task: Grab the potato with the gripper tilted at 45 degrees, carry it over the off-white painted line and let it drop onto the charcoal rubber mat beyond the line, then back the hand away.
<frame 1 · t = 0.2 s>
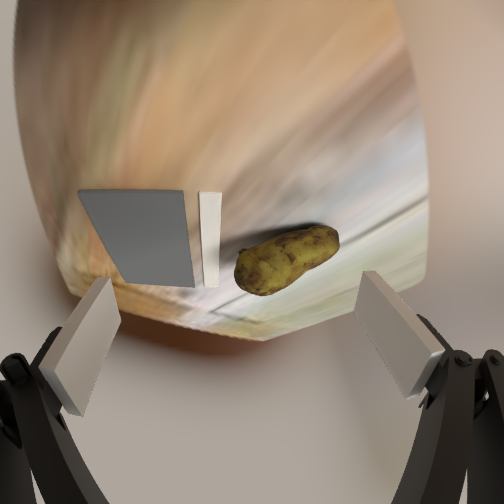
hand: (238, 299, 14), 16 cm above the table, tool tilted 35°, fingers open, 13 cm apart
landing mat: (146, 247, 39), on the table
throw line: (210, 250, 40), on the table
potato: (284, 232, 37), on the table
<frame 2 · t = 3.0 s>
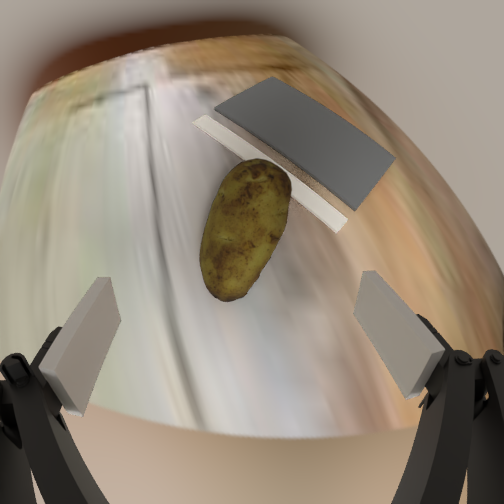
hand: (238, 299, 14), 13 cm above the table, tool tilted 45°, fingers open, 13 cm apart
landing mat: (307, 130, 36), on the table
throw line: (263, 164, 33), on the table
potato: (239, 243, 30), on the table
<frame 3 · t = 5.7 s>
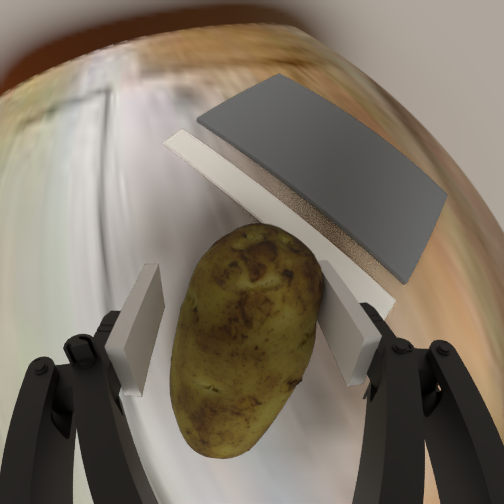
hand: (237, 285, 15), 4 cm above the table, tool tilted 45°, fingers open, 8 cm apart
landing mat: (334, 153, 25), on the table
throw line: (271, 213, 22), on the table
potato: (233, 351, 18), on the table, touching gripper
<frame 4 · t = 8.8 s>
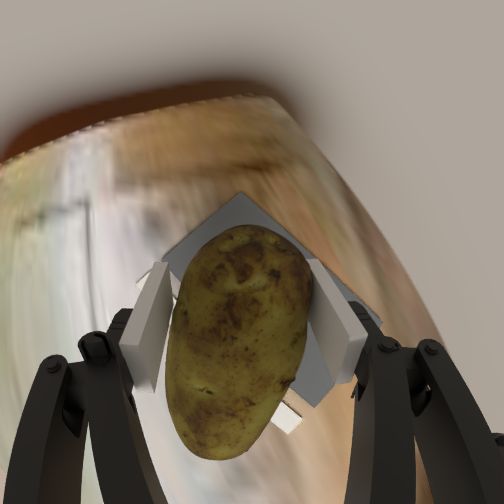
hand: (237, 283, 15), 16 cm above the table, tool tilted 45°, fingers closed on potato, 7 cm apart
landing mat: (275, 295, 31), on the table
throw line: (215, 356, 29), on the table
potato: (227, 353, 18), point 12 cm above the table, touching gripper
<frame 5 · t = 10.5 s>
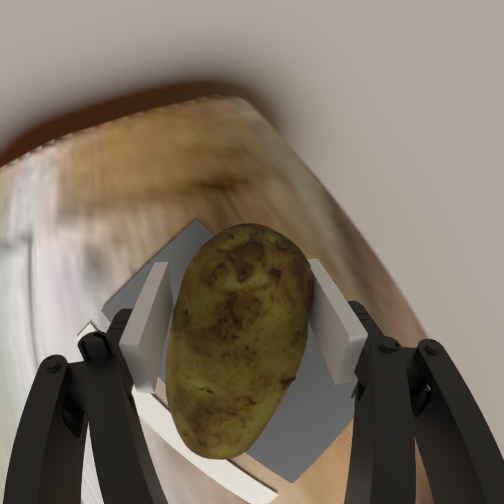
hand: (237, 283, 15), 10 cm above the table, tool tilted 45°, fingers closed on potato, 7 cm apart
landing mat: (240, 355, 23), on the table
throw line: (168, 426, 20), on the table
potato: (228, 352, 18), point 6 cm above the table, touching gripper
when the fingers open (6 cm above the table, at t = 11.5 s): potato drops 2 cm, resting on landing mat.
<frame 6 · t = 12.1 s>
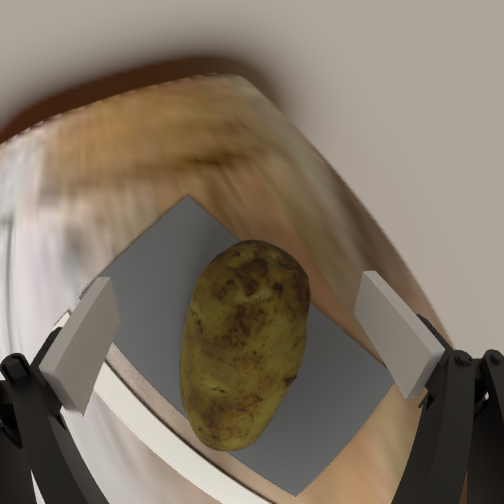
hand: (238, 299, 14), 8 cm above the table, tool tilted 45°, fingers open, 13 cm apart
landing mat: (236, 350, 20), on the table
throw line: (153, 432, 17), on the table
potato: (234, 353, 20), resting on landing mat
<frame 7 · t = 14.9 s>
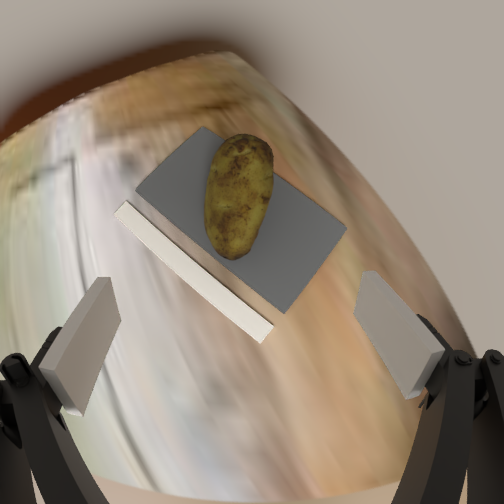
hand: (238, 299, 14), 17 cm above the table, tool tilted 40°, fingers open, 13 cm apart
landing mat: (237, 207, 34), on the table
throw line: (184, 267, 32), on the table
potato: (236, 209, 34), resting on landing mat
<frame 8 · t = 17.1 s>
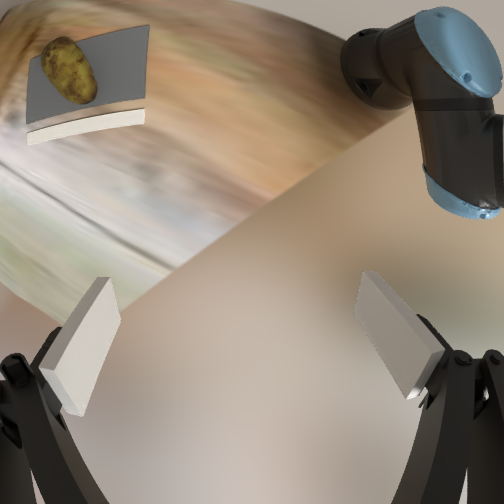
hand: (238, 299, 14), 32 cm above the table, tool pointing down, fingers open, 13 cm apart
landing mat: (80, 74, 32), on the table
throw line: (78, 126, 36), on the table
potato: (79, 75, 32), resting on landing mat
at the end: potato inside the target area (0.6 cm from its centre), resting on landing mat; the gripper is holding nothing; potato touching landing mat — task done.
